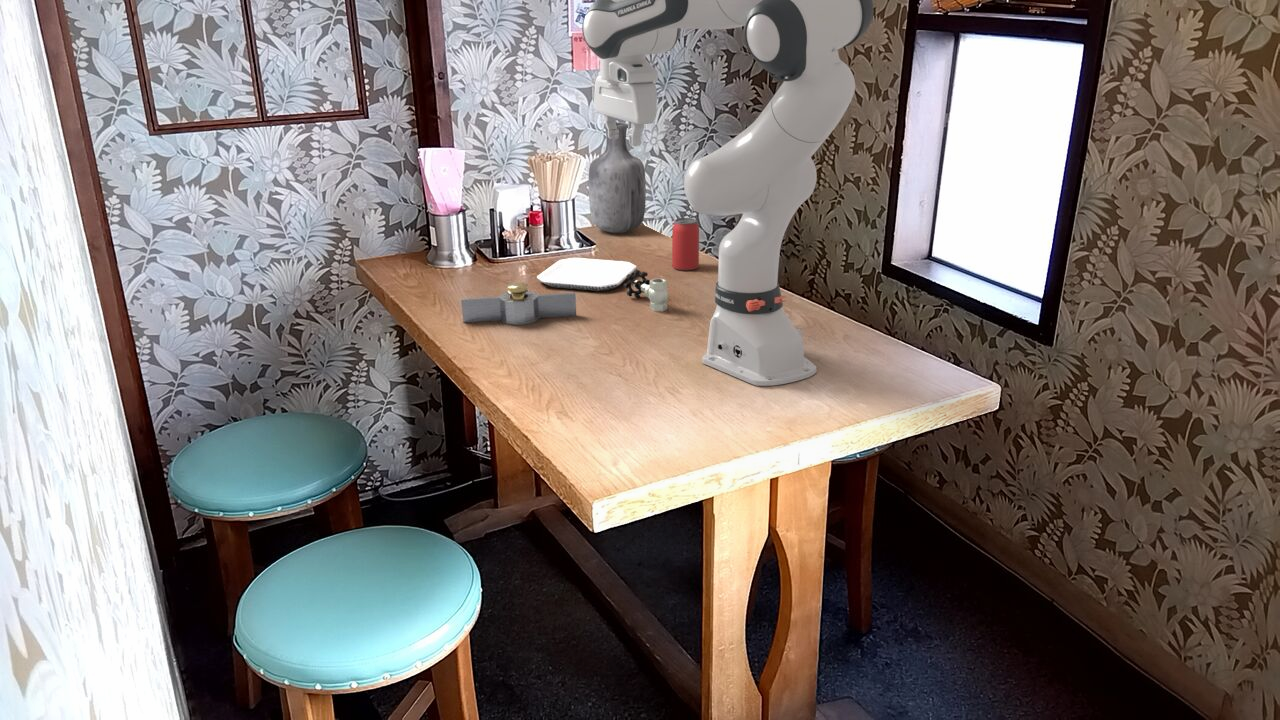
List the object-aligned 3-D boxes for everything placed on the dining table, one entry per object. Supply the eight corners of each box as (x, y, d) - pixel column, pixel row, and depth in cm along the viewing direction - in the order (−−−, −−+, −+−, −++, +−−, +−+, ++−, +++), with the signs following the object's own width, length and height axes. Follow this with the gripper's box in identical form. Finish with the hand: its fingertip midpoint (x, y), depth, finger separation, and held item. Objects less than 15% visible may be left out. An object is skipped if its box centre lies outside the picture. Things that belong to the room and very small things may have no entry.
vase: (656, 233, 269) (656, 125, 258) (606, 241, 262) (604, 130, 250) (628, 221, 282) (627, 118, 271) (580, 228, 275) (576, 122, 263)
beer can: (668, 265, 239) (668, 218, 235) (693, 263, 241) (693, 216, 237) (677, 272, 234) (677, 224, 229) (702, 270, 235) (703, 222, 231)
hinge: (574, 309, 209) (573, 287, 207) (577, 321, 201) (576, 299, 199) (463, 315, 205) (461, 293, 204) (462, 328, 198) (460, 305, 196)
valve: (676, 309, 208) (648, 294, 218) (676, 280, 206) (648, 267, 216) (650, 314, 205) (623, 299, 215) (650, 285, 203) (623, 271, 213)
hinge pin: (517, 322, 201) (514, 290, 198) (505, 317, 204) (502, 285, 201) (533, 317, 204) (531, 285, 201) (521, 313, 207) (519, 281, 204)
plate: (531, 288, 224) (531, 279, 223) (563, 264, 242) (563, 256, 241) (614, 296, 218) (614, 286, 217) (641, 271, 236) (641, 262, 235)
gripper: (585, 66, 191) (587, 136, 196) (632, 74, 174) (633, 150, 179) (613, 64, 194) (614, 133, 199) (662, 72, 177) (662, 148, 182)
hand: (624, 141), depth 189 cm, fingers open, 8 cm apart
